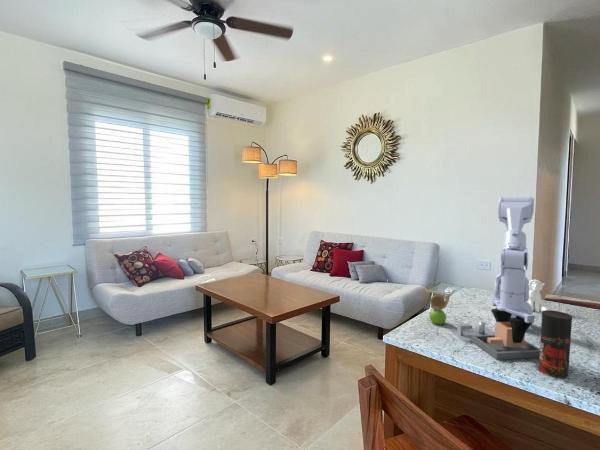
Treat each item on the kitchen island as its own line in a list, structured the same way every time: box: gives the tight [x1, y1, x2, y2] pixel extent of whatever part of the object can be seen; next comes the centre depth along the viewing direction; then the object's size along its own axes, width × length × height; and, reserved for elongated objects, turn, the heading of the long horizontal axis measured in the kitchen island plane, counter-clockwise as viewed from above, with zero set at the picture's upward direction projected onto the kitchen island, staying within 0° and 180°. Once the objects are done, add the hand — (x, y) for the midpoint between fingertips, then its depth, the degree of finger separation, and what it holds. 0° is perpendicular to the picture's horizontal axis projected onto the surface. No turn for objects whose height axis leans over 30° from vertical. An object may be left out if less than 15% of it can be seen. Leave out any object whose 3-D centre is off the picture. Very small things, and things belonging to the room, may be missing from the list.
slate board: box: [447, 326, 495, 342], centre depth 107 cm, size 14×9×1 cm, turn 95°
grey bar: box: [457, 321, 486, 336], centre depth 107 cm, size 8×2×4 cm, turn 95°
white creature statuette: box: [527, 279, 549, 314], centre depth 131 cm, size 10×9×12 cm
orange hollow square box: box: [487, 321, 526, 346], centre depth 96 cm, size 9×5×5 cm, turn 92°
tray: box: [470, 335, 540, 361], centre depth 96 cm, size 14×12×2 cm
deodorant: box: [538, 309, 573, 379], centre depth 84 cm, size 6×6×15 cm
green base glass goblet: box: [429, 290, 451, 326], centre depth 116 cm, size 5×6×12 cm
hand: (509, 338), depth 96 cm, fingers closed on orange hollow square box, 5 cm apart
